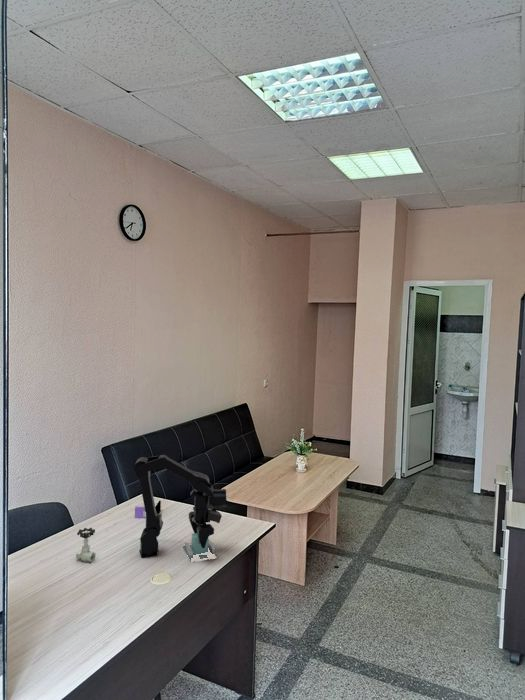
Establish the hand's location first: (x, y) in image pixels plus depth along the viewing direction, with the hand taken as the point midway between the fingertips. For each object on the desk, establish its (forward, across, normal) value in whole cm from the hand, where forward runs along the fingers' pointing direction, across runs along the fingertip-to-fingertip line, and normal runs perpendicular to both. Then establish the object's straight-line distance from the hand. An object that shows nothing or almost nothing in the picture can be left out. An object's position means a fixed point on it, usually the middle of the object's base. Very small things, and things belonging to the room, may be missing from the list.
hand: (200, 543), depth 195 cm
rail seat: (+4, 0, 0) cm, 4 cm away
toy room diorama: (+5, +44, +14) cm, 47 cm away
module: (+4, 0, 0) cm, 4 cm away
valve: (+5, +8, +44) cm, 45 cm away
